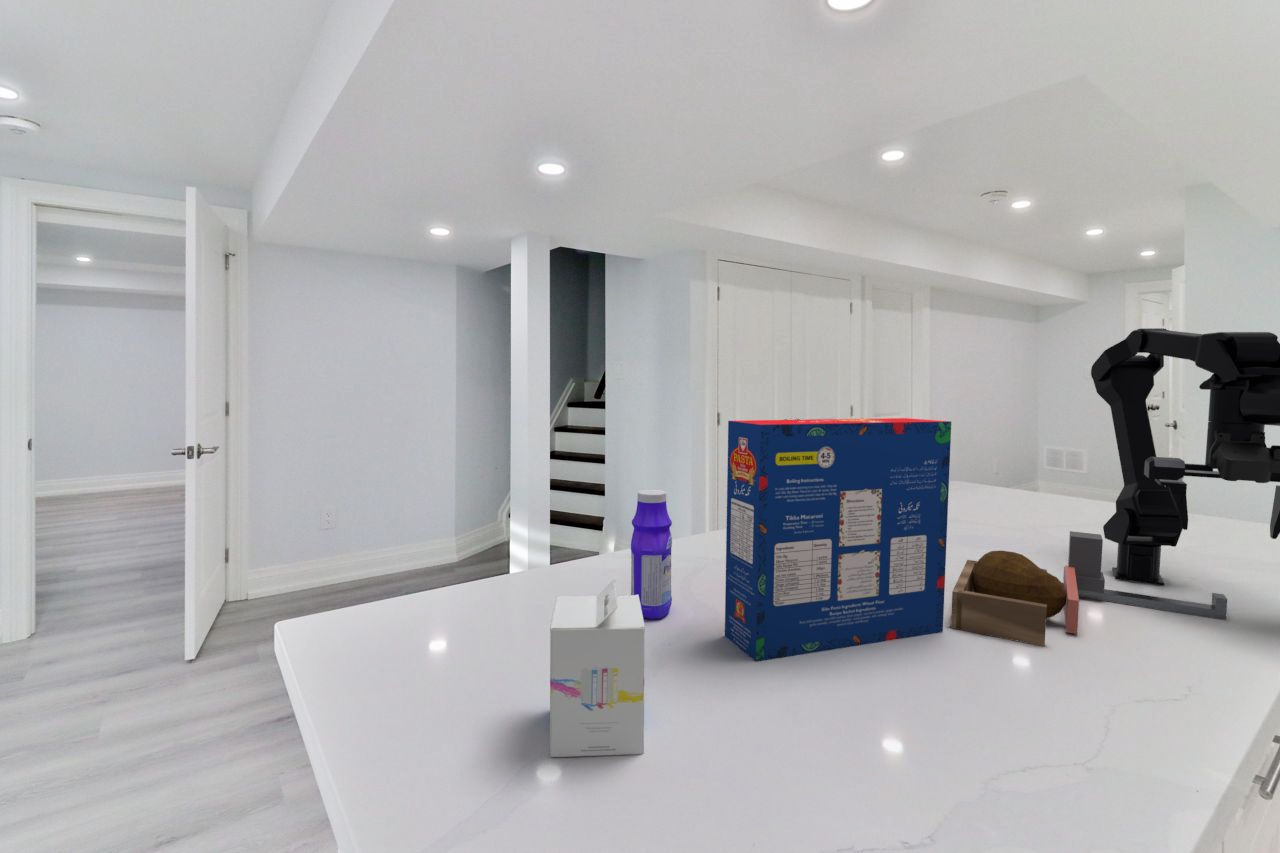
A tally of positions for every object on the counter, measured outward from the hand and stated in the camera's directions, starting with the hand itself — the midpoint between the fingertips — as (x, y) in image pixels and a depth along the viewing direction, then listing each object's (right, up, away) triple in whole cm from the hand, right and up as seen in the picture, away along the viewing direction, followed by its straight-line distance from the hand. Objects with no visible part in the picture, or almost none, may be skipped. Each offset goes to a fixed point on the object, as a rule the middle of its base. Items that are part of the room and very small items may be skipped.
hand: (1227, 533), depth 88 cm
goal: (-31, -12, +1) cm, 33 cm away
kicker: (-18, -11, +2) cm, 22 cm away
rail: (-9, -12, +7) cm, 16 cm away
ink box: (-87, -14, -29) cm, 93 cm away
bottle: (-81, -12, +1) cm, 82 cm away
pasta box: (-57, -12, -6) cm, 59 cm away
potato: (-30, -12, +2) cm, 32 cm away
